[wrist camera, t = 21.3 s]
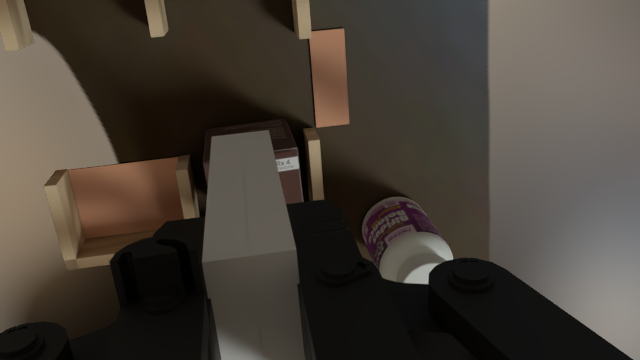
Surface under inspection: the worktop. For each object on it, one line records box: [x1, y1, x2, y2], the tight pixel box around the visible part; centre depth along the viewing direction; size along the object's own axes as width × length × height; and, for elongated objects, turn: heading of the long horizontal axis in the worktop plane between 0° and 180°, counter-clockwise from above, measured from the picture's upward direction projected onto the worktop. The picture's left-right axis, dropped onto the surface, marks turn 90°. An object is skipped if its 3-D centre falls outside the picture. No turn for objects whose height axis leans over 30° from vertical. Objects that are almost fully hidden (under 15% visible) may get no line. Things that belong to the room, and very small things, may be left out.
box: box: [203, 118, 304, 204], centre depth 40 cm, size 6×6×7 cm
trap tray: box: [0, 0, 349, 270], centre depth 39 cm, size 24×22×3 cm
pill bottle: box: [362, 197, 453, 284], centre depth 43 cm, size 5×5×10 cm
